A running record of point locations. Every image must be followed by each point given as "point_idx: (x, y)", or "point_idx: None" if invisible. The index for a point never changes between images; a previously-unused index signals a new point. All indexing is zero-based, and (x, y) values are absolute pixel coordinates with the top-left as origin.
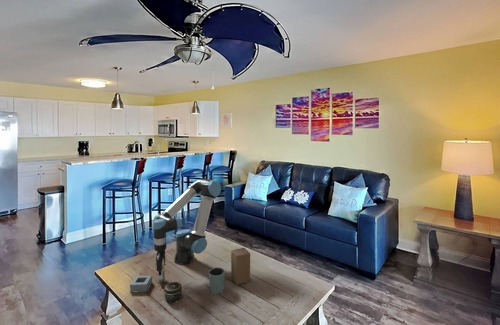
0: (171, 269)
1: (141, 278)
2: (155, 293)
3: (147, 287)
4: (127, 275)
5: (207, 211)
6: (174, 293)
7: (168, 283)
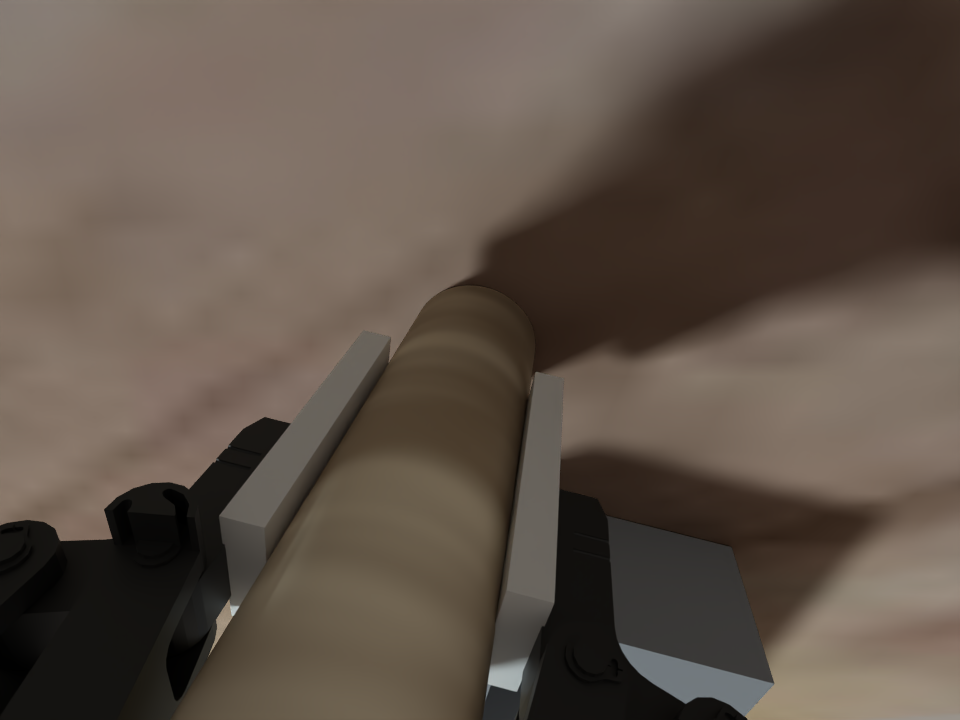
0: (11, 158)
1: None
2: (864, 441)
3: (704, 584)
4: None
5: None
6: None
7: None
